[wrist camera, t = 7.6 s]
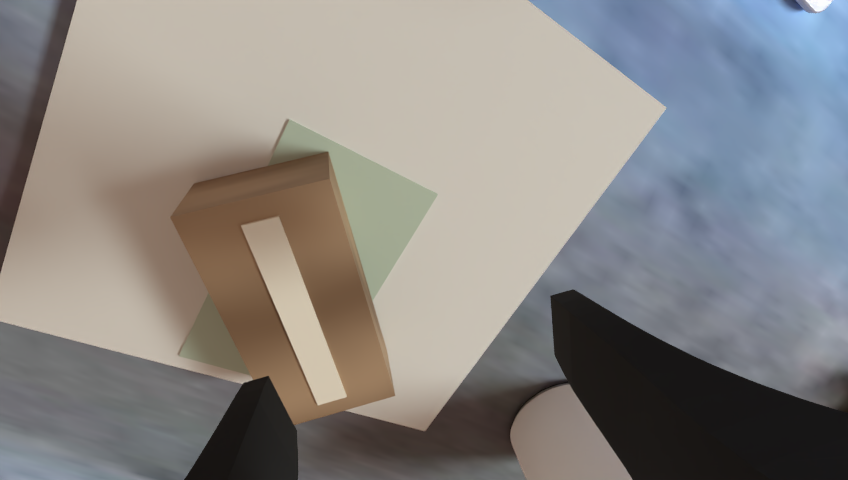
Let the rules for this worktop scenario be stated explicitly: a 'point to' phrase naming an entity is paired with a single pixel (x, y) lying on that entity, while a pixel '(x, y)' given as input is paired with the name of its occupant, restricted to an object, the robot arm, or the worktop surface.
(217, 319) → the mat
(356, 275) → the tissue box
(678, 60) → the worktop surface
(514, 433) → the can
